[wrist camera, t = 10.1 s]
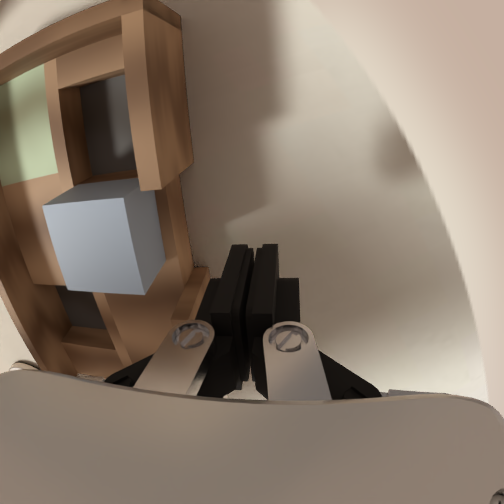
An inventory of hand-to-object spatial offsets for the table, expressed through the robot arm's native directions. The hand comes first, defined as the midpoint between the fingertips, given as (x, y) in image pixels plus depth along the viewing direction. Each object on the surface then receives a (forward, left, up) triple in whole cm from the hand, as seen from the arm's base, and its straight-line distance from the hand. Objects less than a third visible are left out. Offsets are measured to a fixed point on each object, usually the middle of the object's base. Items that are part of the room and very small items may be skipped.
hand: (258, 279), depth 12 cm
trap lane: (-1, +12, -8) cm, 14 cm away
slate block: (+1, +8, -5) cm, 10 cm away
